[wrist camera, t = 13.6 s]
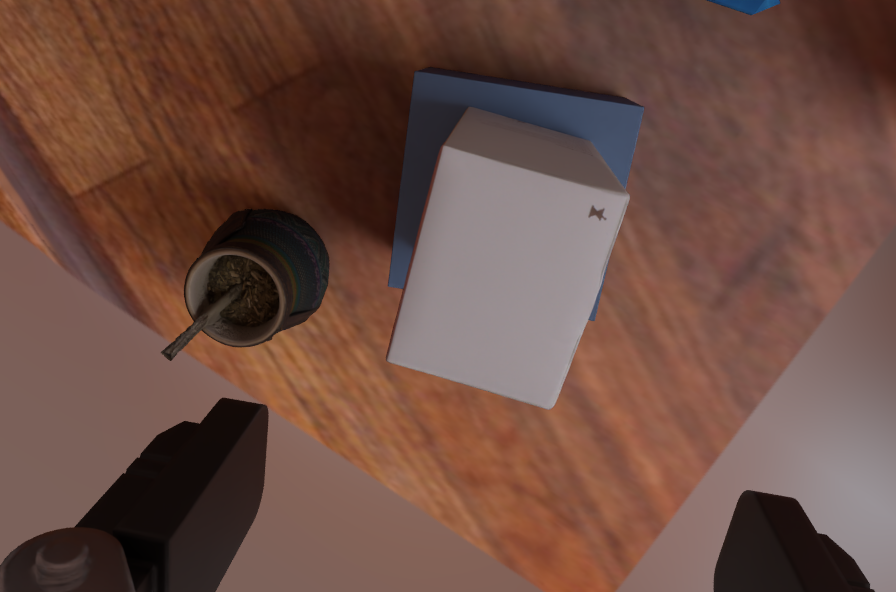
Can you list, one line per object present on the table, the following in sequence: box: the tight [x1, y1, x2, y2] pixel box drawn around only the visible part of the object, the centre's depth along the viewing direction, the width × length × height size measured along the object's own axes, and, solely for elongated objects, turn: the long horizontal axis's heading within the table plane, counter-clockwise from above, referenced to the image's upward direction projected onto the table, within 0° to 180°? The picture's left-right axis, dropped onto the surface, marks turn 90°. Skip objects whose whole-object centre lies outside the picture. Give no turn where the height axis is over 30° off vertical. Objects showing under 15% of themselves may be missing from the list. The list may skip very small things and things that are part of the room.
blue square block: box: [388, 67, 644, 321], centre depth 39 cm, size 11×11×6 cm
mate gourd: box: [161, 209, 329, 361], centre depth 40 cm, size 7×8×10 cm
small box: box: [386, 107, 630, 410], centre depth 30 cm, size 8×6×13 cm
